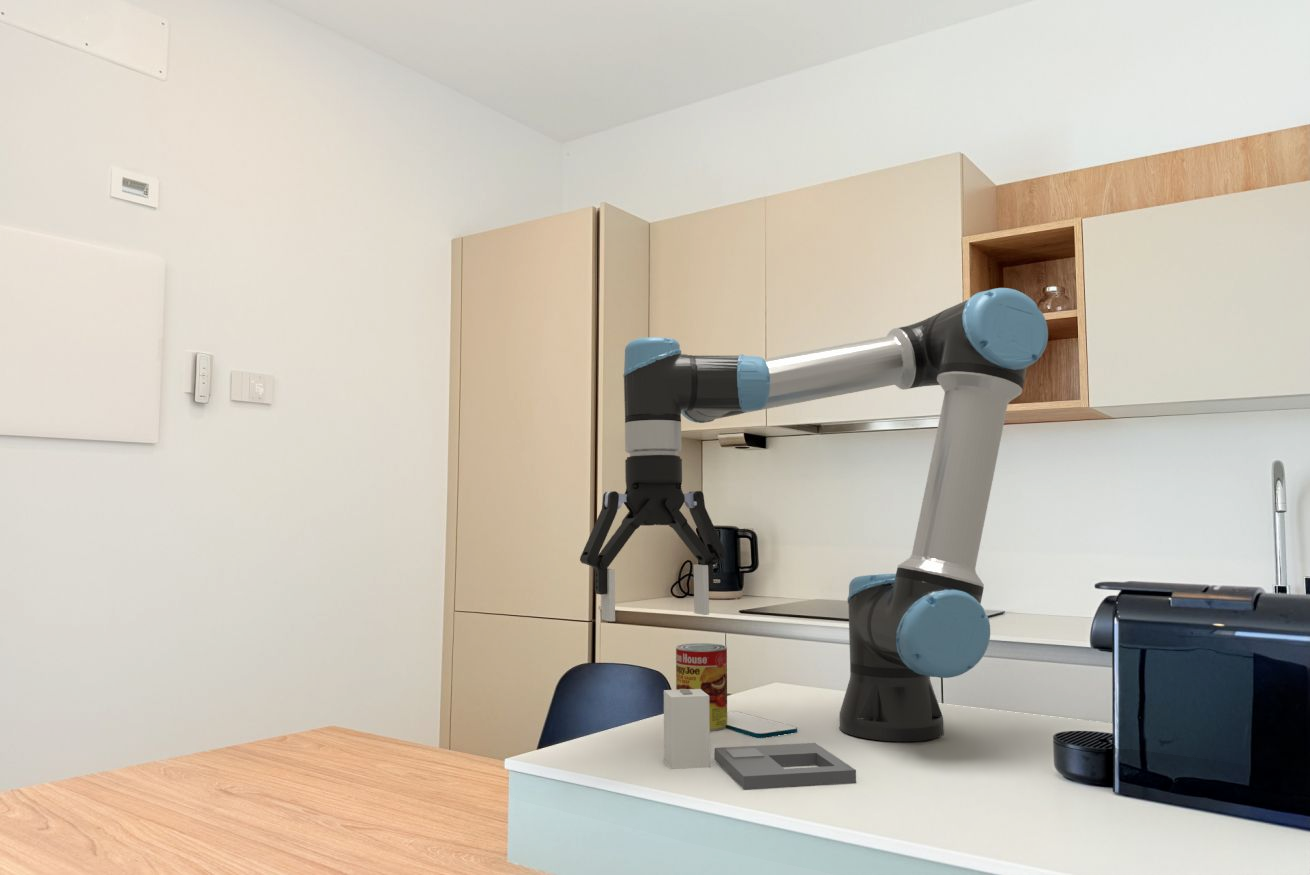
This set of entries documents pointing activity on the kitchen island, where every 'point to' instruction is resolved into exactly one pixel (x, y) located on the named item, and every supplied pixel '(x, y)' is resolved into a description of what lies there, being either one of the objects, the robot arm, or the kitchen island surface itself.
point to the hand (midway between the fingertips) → (656, 617)
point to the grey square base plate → (767, 762)
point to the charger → (686, 729)
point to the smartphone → (756, 725)
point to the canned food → (705, 676)
